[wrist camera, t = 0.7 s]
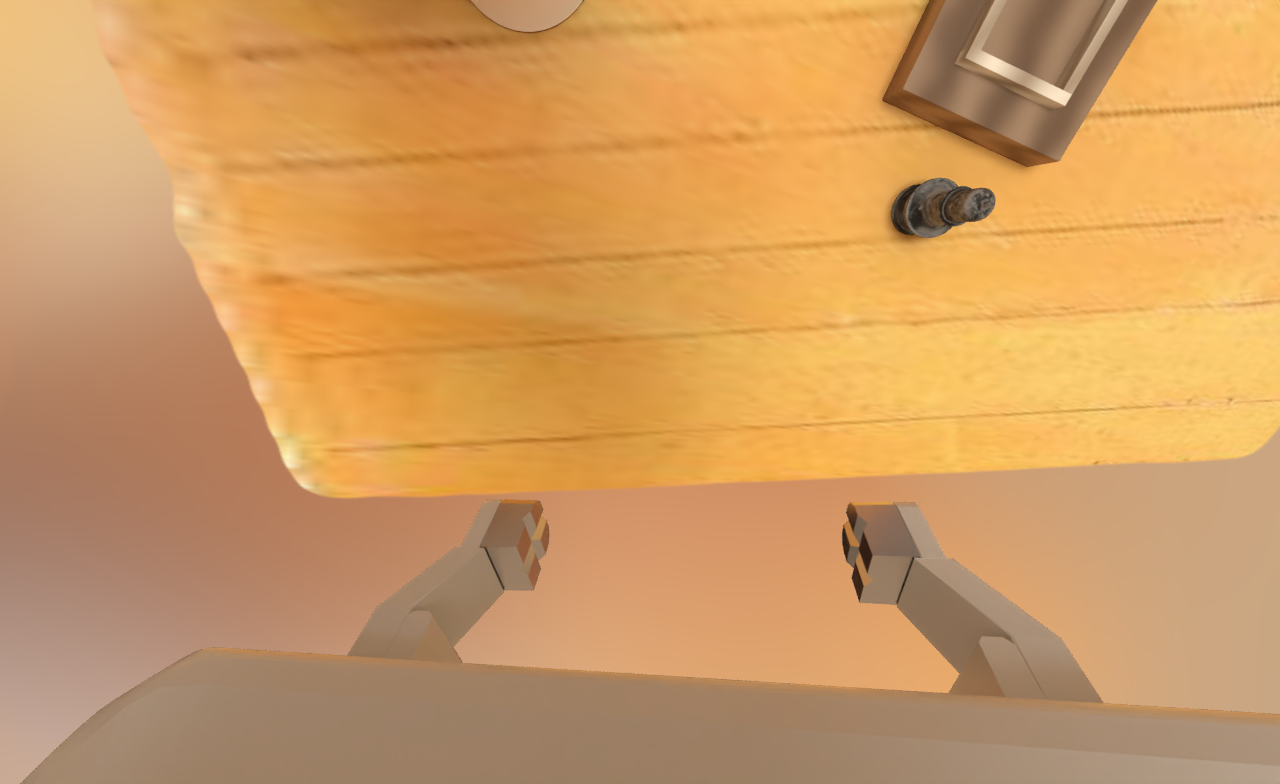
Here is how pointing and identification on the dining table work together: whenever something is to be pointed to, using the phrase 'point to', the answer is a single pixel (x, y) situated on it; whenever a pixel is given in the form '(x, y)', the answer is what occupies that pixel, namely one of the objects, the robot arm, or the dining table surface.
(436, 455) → the dining table surface
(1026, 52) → the display stand
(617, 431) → the dining table surface
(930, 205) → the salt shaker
